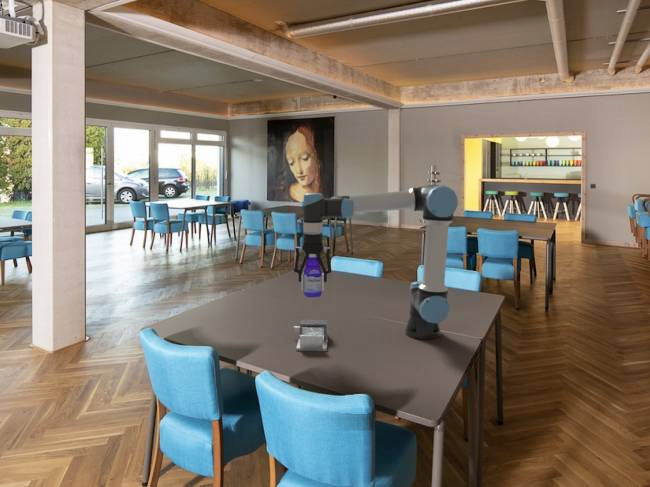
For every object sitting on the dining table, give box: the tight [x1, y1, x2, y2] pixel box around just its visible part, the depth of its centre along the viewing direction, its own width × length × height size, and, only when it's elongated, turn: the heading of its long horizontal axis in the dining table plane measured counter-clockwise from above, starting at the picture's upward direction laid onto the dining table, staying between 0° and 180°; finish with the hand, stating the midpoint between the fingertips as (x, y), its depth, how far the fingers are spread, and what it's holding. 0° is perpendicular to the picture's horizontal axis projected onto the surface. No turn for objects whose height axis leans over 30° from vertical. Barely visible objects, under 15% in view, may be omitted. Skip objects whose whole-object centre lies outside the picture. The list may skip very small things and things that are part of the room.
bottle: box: [303, 254, 323, 298], centre depth 192 cm, size 7×6×17 cm
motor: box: [293, 319, 329, 340], centre depth 205 cm, size 14×6×7 cm, turn 88°
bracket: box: [295, 327, 329, 352], centre depth 196 cm, size 12×11×6 cm
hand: (312, 289), depth 193 cm, fingers closed on bottle, 7 cm apart
